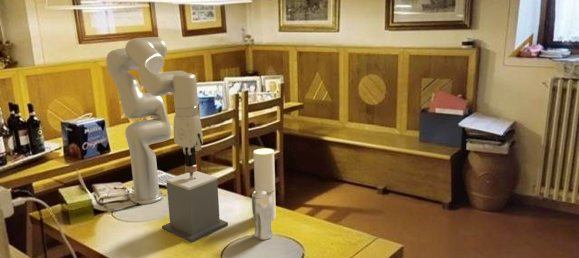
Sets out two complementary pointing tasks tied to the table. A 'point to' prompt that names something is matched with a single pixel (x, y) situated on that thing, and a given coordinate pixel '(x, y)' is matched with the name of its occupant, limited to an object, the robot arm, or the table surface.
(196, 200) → the block
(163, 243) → the table surface
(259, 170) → the cylindrical container
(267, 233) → the beer glass
